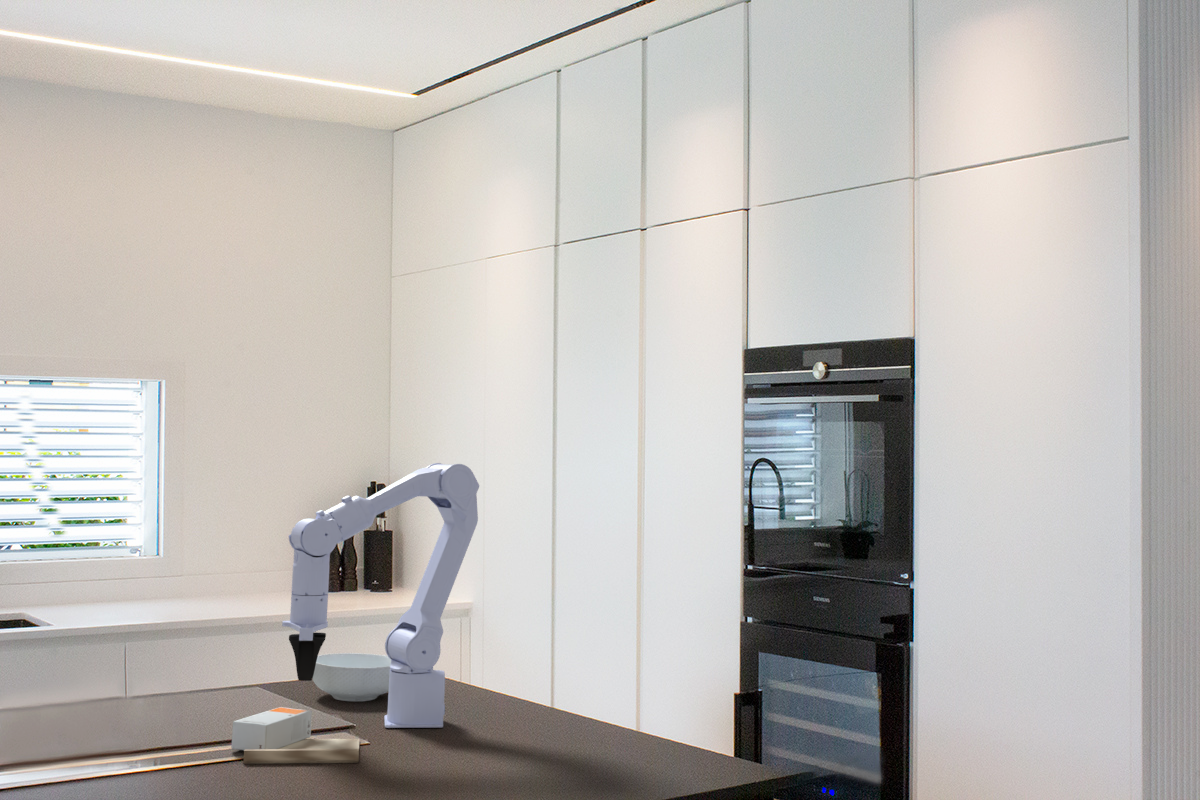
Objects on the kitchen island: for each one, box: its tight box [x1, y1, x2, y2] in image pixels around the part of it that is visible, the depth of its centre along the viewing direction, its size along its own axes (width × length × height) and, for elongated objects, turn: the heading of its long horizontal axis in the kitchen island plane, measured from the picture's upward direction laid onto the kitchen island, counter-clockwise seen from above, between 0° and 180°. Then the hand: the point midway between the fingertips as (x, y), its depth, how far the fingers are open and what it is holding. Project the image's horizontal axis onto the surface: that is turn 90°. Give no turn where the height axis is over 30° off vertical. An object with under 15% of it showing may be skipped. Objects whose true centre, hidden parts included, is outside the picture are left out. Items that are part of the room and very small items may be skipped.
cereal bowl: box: [312, 652, 391, 702], centre depth 213 cm, size 17×17×7 cm
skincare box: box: [230, 706, 313, 752], centre depth 175 cm, size 6×4×12 cm
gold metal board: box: [242, 738, 360, 765], centre depth 172 cm, size 16×13×2 cm
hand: (305, 679), depth 184 cm, fingers closed
